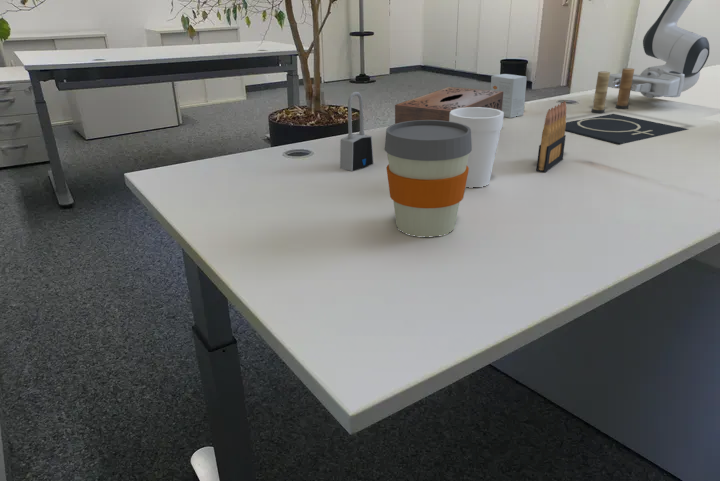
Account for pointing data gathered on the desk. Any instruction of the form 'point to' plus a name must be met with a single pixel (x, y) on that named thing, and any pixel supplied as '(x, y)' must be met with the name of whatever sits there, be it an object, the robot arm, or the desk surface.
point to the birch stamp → (601, 92)
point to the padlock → (356, 143)
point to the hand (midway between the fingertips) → (623, 86)
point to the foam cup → (480, 140)
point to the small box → (510, 93)
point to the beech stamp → (625, 88)
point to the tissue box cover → (446, 103)
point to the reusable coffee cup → (427, 174)
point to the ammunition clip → (552, 138)
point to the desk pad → (619, 128)
